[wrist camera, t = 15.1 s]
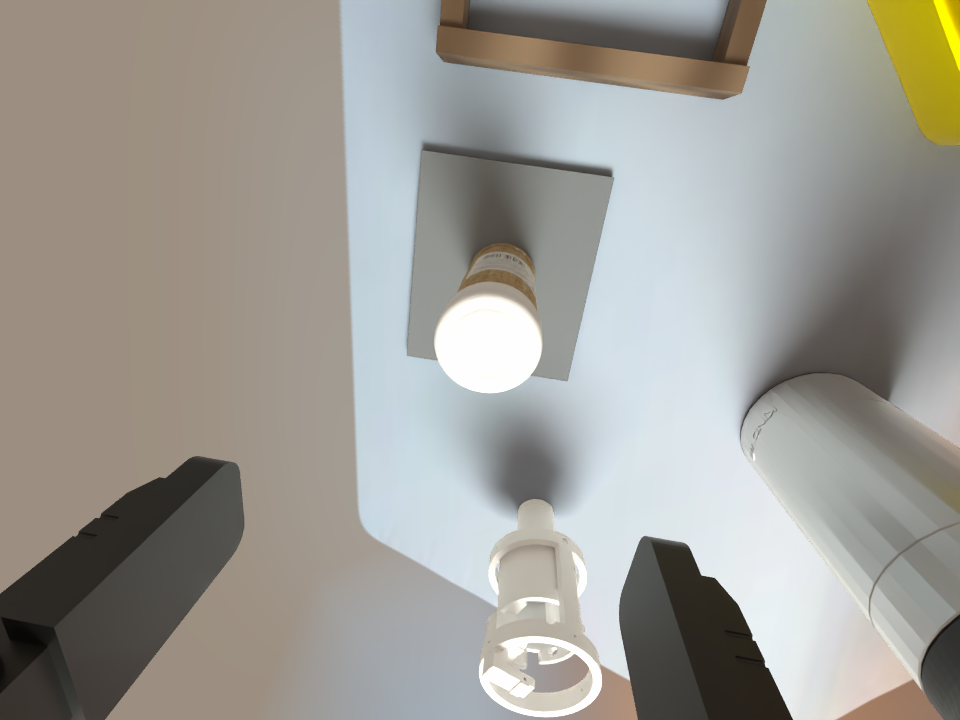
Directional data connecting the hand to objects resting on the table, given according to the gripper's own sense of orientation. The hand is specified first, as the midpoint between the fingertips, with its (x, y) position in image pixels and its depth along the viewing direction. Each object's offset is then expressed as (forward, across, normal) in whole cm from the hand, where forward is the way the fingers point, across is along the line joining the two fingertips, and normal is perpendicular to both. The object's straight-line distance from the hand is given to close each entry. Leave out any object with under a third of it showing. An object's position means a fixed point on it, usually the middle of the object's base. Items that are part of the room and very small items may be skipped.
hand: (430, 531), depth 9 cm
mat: (+24, 0, 0) cm, 24 cm away
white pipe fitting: (+25, -6, +20) cm, 32 cm away
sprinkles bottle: (+24, 0, 0) cm, 24 cm away
